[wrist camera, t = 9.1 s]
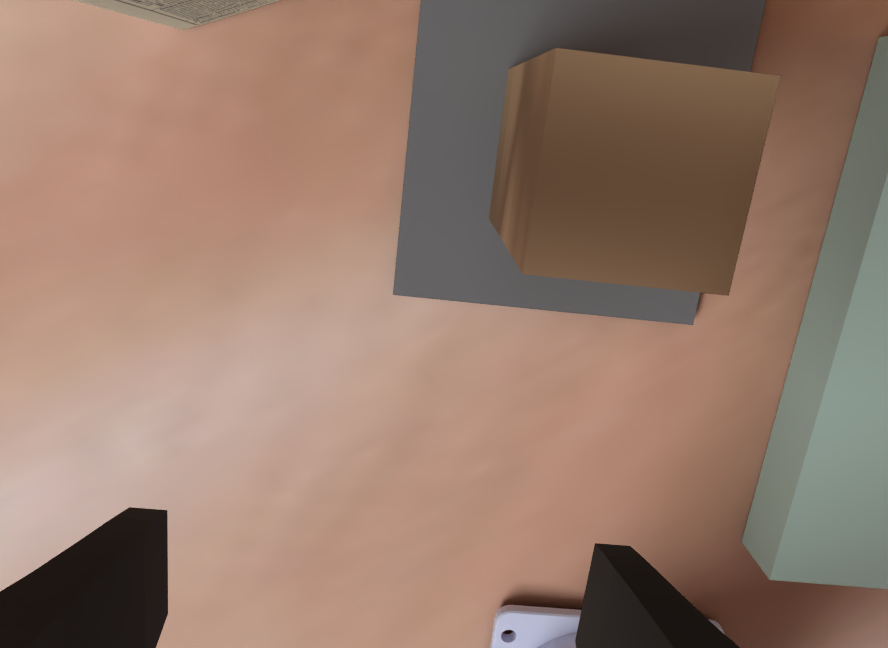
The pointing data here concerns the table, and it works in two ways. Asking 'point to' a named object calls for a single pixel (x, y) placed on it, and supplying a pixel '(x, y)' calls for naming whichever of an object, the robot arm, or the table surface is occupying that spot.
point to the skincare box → (179, 10)
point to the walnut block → (629, 168)
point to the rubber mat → (478, 129)
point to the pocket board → (837, 388)
